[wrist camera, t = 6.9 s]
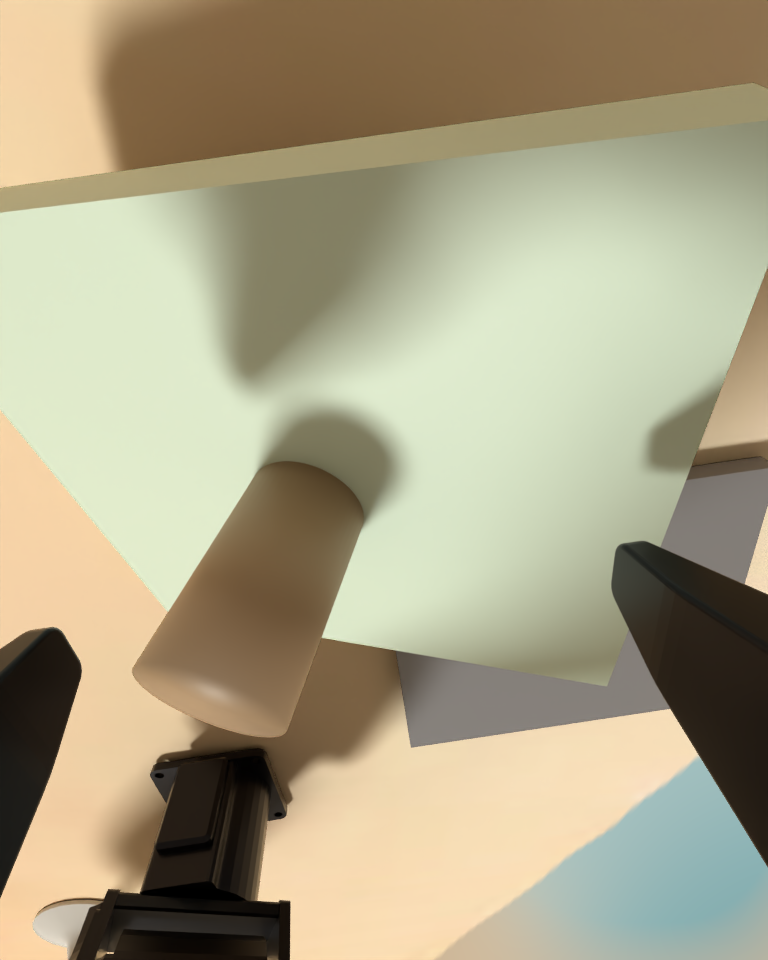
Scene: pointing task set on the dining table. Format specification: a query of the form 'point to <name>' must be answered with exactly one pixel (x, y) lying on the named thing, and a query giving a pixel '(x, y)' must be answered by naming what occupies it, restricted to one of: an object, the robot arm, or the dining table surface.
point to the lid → (387, 380)
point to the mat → (631, 689)
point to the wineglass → (63, 922)
